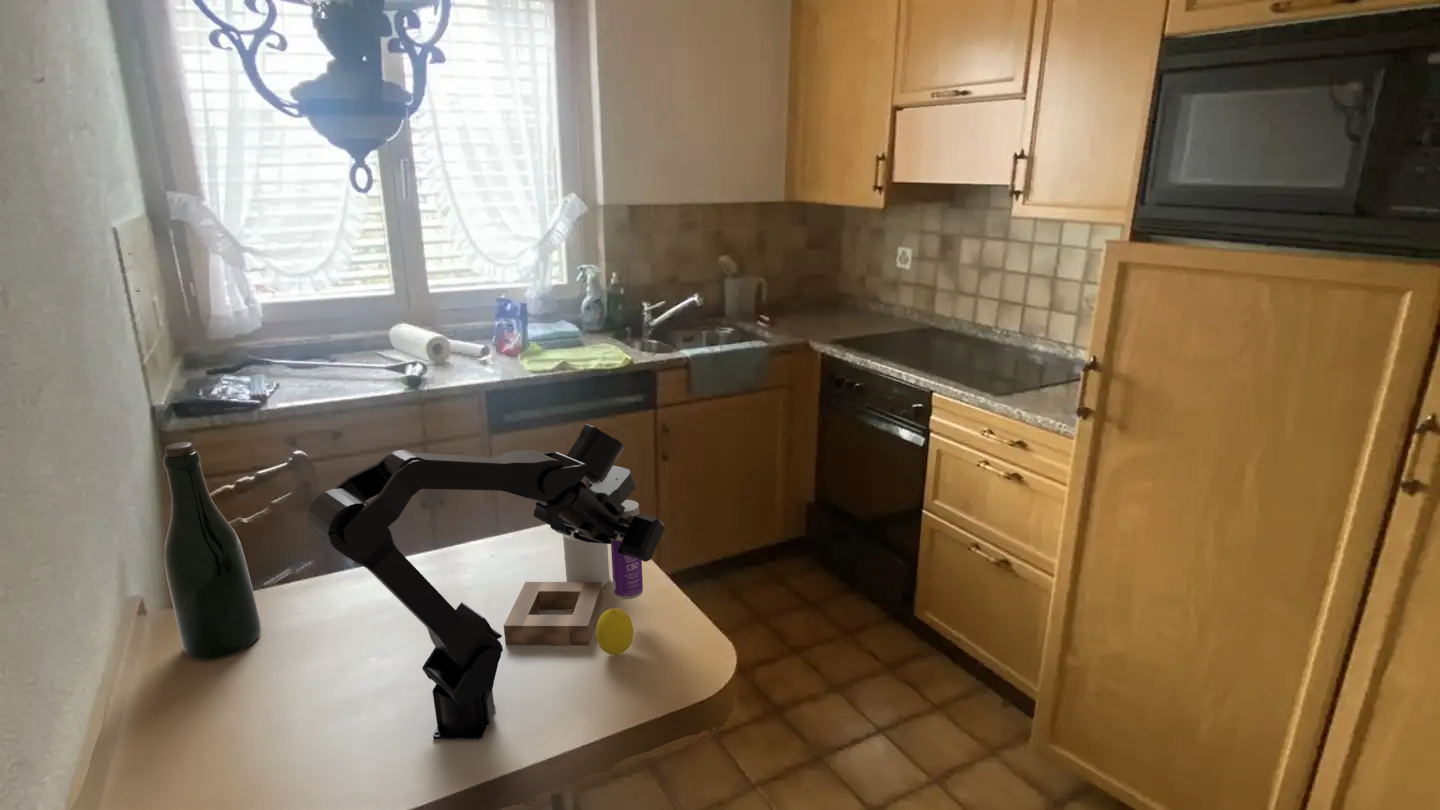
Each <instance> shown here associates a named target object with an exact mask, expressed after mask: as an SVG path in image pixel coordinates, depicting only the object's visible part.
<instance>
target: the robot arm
mask: <svg viewBox="0 0 1440 810" xmlns="http://www.w3.org/2000/svg"><path fill="white" fill-rule="evenodd" d="M624 448H625V445H624V444H623V443H622V442H621V440H620V441H619V439H617V438H616V437H615V438H614V437H612V436H610V435H609V434H607V433H605V432H604V431H602V430H600V429H599V428H597V427H596V426H594V425H592V424H590V423H589V424H588V423H586V424H584V427H582V429H581V431H580V434H579V436H578V437H577V439H576V440H575V442H574V444H573V445H572V447H571V448H570V450H569V451H568V453H567V454H564V453H561V452H558V451H555V450H554V451H549V452H540V451H537V450H533V449H521V450H513V451H507V452H505V453H503V454H501V455H496V456H482V455H480V456H478V455H464V454H447V453H446V454H445V453H443V454H442V453H428V452H427V453H426V452H413V451H412V452H411V451H408V450H405V449H397V450H394V451H391V452H390V453H388V454H387V455H386V456H384V457H383V458H382V459H380V460H379V461H378V462H376V463H375V464H373V465H371V466H368V467H367V468H365V469H362V470H361V471H359V472H356V473H354V474H351V475H350V476H348V477H347V478H345V479H344V480H343V481H342V482H340V483H339V484H338V485H336V486H335V487H334V488H332V489H328V490H326V491H324V492H322V493H321V494H319V495H317V497H315V499H314V500H313V501H312V502H311V504H310V506H309V507H308V509H307V516H306V523H307V525H308V527H309V528H310V529H311V531H312V532H313V533H315V534H316V535H317V536H318V537H320V538H321V539H322V540H324V541H325V542H326V543H327V544H329V545H330V546H331V547H332V548H333V549H335V550H336V551H337V552H339V553H341V554H342V555H343V556H345V557H347V558H348V559H350V560H352V561H353V562H355V563H356V564H358V565H360V566H362V567H363V568H365V569H367V570H368V571H369V572H370V573H371V574H372V575H373V576H374V577H375V578H376V579H377V580H378V582H380V583H381V584H382V585H383V586H384V587H386V589H387V590H388V591H389V592H390V593H391V594H392V595H394V597H395V598H397V599H398V600H399V602H400V603H402V605H404V607H405V608H407V609H408V610H409V611H410V612H411V614H412V615H413V616H415V617H416V618H417V620H418V621H420V623H422V624H423V626H425V627H426V629H427V631H428V634H429V638H430V640H431V642H432V644H433V645H434V646H435V647H434V649H432V650H433V651H432V652H431V654H430V655H429V656H428V658H427V660H426V661H425V663H424V664H423V666H422V668H421V669H422V671H423V672H424V674H425V675H426V677H427V678H428V679H429V680H431V681H432V682H434V683H435V685H434V687H433V689H432V696H433V697H432V699H433V704H434V712H435V718H436V724H437V725H436V727H435V729H434V731H433V733H432V737H433V739H434V740H481V739H482V738H483V737H484V735H485V733H486V731H487V728H488V727H489V726H490V724H491V722H492V720H493V717H494V716H495V713H496V703H495V702H494V701H495V700H494V692H493V687H494V684H495V678H496V676H497V675H496V674H497V669H498V667H499V662H500V659H501V657H502V653H503V651H504V649H503V645H502V643H501V641H500V640H499V639H501V638H502V636H503V635H502V634H501V633H499V632H498V631H497V630H495V629H494V628H493V627H491V625H490V623H489V621H488V620H487V618H485V617H484V616H482V615H481V614H480V613H479V612H477V611H475V610H474V609H473V608H471V607H470V606H468V605H467V604H466V603H464V602H463V601H461V602H460V603H459V605H457V607H456V609H455V608H454V607H453V606H452V604H450V603H449V601H448V600H447V599H445V597H444V596H443V595H442V594H441V593H440V592H439V591H438V590H437V589H436V588H435V587H434V586H433V585H432V583H431V582H429V581H428V579H427V578H426V577H425V576H424V575H423V574H422V573H421V572H420V571H419V570H418V569H417V568H416V567H415V565H413V564H412V562H410V561H409V559H408V558H407V557H406V556H405V555H404V554H402V551H400V550H399V549H398V547H397V546H396V542H395V539H394V536H393V534H392V531H391V530H390V528H389V527H390V526H392V524H393V523H394V522H396V521H397V519H399V518H400V516H401V514H402V513H403V512H404V510H405V508H406V506H407V505H408V504H409V502H410V500H411V499H412V497H414V495H415V494H417V493H418V492H419V491H421V490H447V491H448V490H450V491H451V490H454V491H455V490H457V491H458V490H459V491H501V492H505V493H508V494H511V495H512V494H513V495H516V496H519V497H522V498H525V499H530V500H534V501H536V502H535V507H534V509H533V517H534V518H536V519H537V520H540V521H541V522H544V523H545V524H547V525H549V526H550V527H549V528H550V529H552V531H555V532H556V533H558V534H561V535H563V534H564V535H567V536H570V535H571V533H572V532H571V531H573V532H574V535H573V536H574V538H576V539H579V540H582V541H585V542H591V543H603V544H607V545H611V539H612V540H616V539H617V537H618V534H616V533H619V534H620V536H619V537H621V538H622V541H621V542H622V543H621V545H620V547H619V549H618V551H617V552H618V553H620V554H623V555H626V556H629V557H632V558H635V559H638V560H641V561H642V562H645V563H647V562H648V561H651V560H652V557H653V555H654V552H655V551H656V548H657V546H658V544H659V541H660V540H661V537H662V535H663V533H664V531H665V528H666V527H665V523H664V522H663V521H662V520H661V519H659V518H657V517H655V516H651V515H648V514H644V513H641V512H639V514H637V515H636V516H628V517H627V518H626V519H625V518H622V517H619V515H622V514H623V512H624V510H625V507H624V506H623V505H622V503H623V502H624V501H625V500H628V498H629V496H630V495H631V494H632V493H633V492H634V491H636V489H637V483H636V481H635V479H634V476H633V474H632V471H631V470H630V469H628V468H625V467H621V466H617V465H615V463H616V462H617V460H618V459H619V457H620V455H621V453H622V452H623V450H624ZM583 480H585V482H586V484H585V483H584V482H583ZM375 496H376V497H375ZM373 497H374V498H373ZM371 498H373V499H372V500H371V501H370V502H366V501H367V500H369V499H371ZM620 524H621V525H620ZM623 525H624V526H623ZM626 525H628V526H626ZM569 530H570V531H569ZM614 532H616V533H614Z"/></svg>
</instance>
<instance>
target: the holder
mask: <svg viewBox="0 0 1440 810" xmlns="http://www.w3.org/2000/svg"><path fill="white" fill-rule="evenodd" d="M603 594H604V593H603V587H602V582H567V581H525V582H524V584H523V586H522V588H521V590H520V592H519V593H518V596H517V598H516V600H515V601H514V604H513V606H512V608H511V610H510V613H509V614H508V616H507V618H506V620H505V622H504V624H503V633H504V642H505V646H550V647H551V646H555V647H557V646H567V647H568V646H569V647H570V646H573V647H574V646H576V647H577V646H579V647H581V646H582V647H583V646H584V647H588V646H589V647H590V645H591V642H592V638H593V634H594V631H595V628H596V627H597V623H598V620H599V616H600V612H601V608H602V605H603V602H604V595H603ZM541 610H542V611H545V610H546V611H556V610H557V611H573V612H572V614H540V612H541Z"/></svg>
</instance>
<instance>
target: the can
mask: <svg viewBox="0 0 1440 810" xmlns="http://www.w3.org/2000/svg"><path fill="white" fill-rule="evenodd" d="M569 531H570V530H569ZM571 532H572V533H571V535H570V536H567V535H564V534H562V539H563V541H562V542H563V550H564V562H565V563H564V564H565V565H564V566H565V577H566V582H602V588H603V587H604V586H605V585H606V584H608V583H609V581H610V567H609V565H610V564H609V562H610V561H609V544H603V543H591V542H585V541H582V540H579V539H576V538H574V536H573V535H574V532H573V531H571Z"/></svg>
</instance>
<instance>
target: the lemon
mask: <svg viewBox="0 0 1440 810" xmlns="http://www.w3.org/2000/svg"><path fill="white" fill-rule="evenodd" d="M599 616H600V617H598V619H597V622H596V634H595V635H596V640H597V644H598V646H599V648H600V649H601V650H602V651H603V652H605V653H606V654H608V655H611V656H615V657H617V656H619V655H621V654H623V653H625V652H626V651H628V650H629V648H630V646H631V645H632V643H633V639H634V626H633V621H632V619H631V617H630V615H629V614H628V613H627V612H626V611H624V610H623V609H620V608H617V607H616V608H615V607H612V608H609V609H607V610H606V611H605V610H604V612H603V613H602V614H601V615H599Z"/></svg>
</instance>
